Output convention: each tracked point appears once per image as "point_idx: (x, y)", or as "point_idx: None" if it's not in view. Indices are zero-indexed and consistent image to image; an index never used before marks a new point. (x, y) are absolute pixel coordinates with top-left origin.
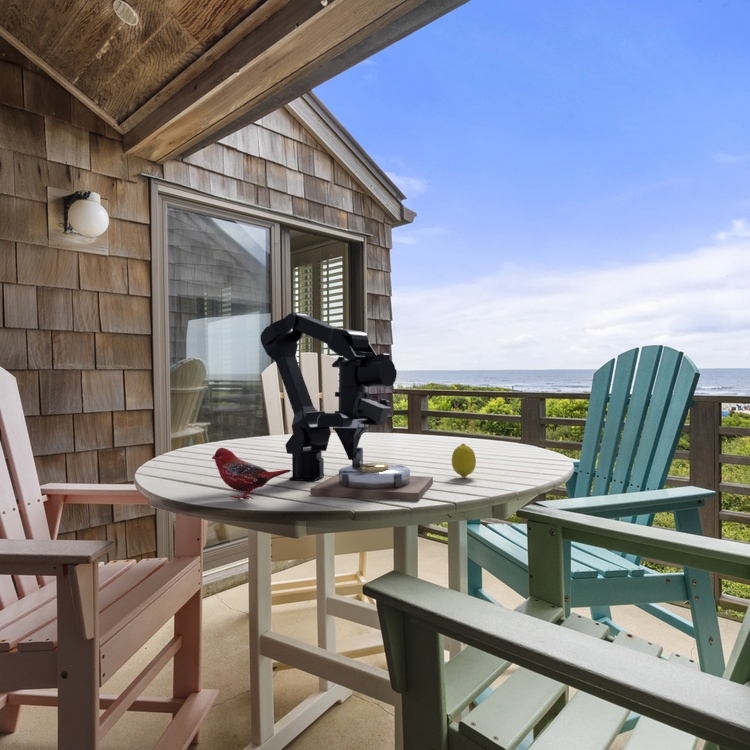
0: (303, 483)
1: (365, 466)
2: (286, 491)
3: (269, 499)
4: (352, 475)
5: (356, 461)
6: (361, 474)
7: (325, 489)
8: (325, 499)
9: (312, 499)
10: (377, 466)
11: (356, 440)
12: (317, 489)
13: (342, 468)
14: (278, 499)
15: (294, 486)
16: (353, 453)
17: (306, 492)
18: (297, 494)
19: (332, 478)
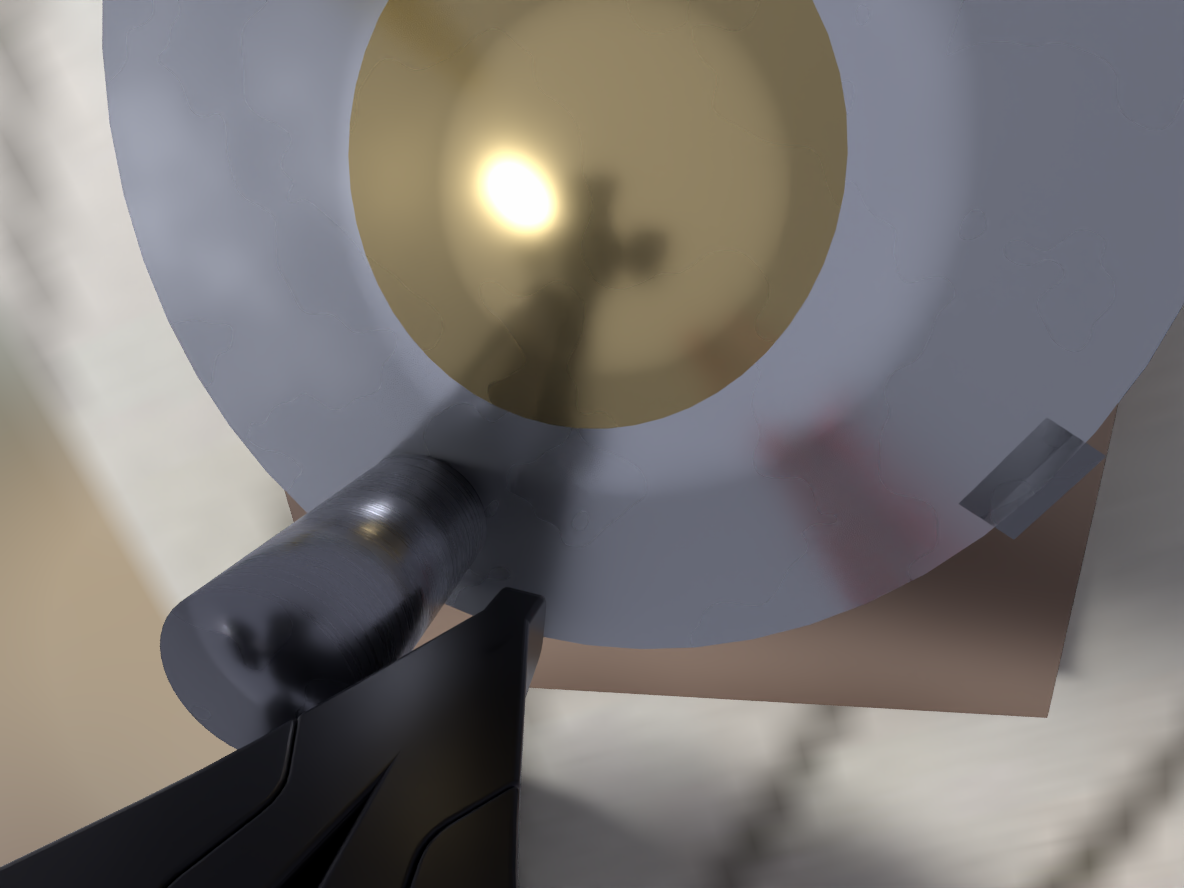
0: (574, 815)
1: (769, 288)
2: (867, 846)
3: (1173, 879)
4: (1146, 354)
5: (454, 546)
6: (1068, 237)
7: (1072, 584)
8: (1170, 510)
9: (1171, 612)
10: (726, 56)
11: (319, 848)
12: (1051, 652)
13: (617, 634)
14: (1172, 830)
15: (687, 840)
16: (521, 644)
17: (881, 724)
18: (967, 761)
19: (567, 664)
